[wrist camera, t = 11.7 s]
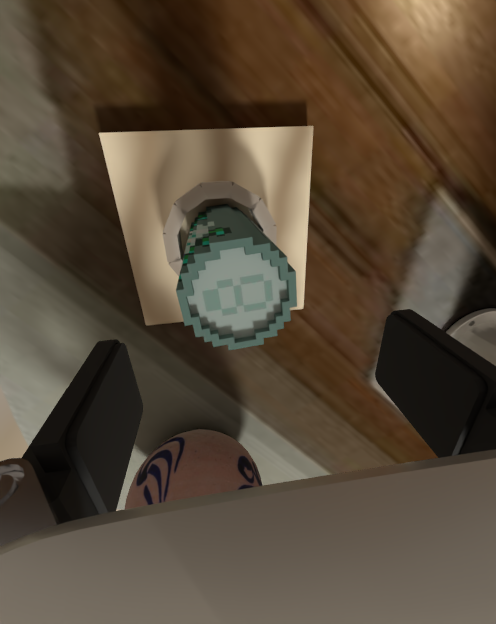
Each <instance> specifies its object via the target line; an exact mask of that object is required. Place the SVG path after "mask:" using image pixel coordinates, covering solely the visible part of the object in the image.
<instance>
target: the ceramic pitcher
mask: <svg viewBox="0 0 496 624" xmlns="http://www.w3.org/2000/svg"><path fill="white" fill-rule="evenodd" d="M258 486H262V482H261V478H260V475H259V472H258V469H257V466H256V464H255V462H254V461H253V459H252V458H251V456H250V454H249V453H248V451H247V450H246V449H245V448H244V447H243V446H242V445H241V444H240V443H239V442H238V441H236V440H235V439H233V438H232V437H230V436H227V435H225V434H223V433H220V432H217V431H212V430H203V429H198V430H192V431H188V432H183V433H180V434H178V435H176V436H174V437H172V438H169V439H168V440H167V441H165V442H163V443H162V444H161V445H160V446H158V447H157V448H156V449H155V450H154V451H153V452H152V453H151V454H150V455H149V456H148V457H147V459H146V460H145V461H144V462H143V464H142V465H141V467H140V468H139V470H138V472H137V473H136V475H135V477H134V480H133V482H132V484H131V486H130V489H129V493H128V496H127V499H126V504H125V509H130V508H136V507H141V506H147V505H152V504H158V503H163V502H168V501H174V500H180V499H186V498H192V497H198V496H204V495H210V494H216V493H222V492H228V491H234V490H240V489H246V488H252V487H258Z"/></svg>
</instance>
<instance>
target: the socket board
mask: <svg viewBox="0 0 496 624" xmlns="http://www.w3.org/2000/svg"><path fill="white" fill-rule="evenodd" d="M99 136H100V140H101V144H102V148H103V152H104V156H105V160H106V164H107V168H108V172H109V177H110V181H111V185H112V189H113V193H114V197H115V201H116V205H117V209H118V213H119V217H120V221H121V226H122V230H123V234H124V238H125V242H126V246H127V250H128V254H129V258H130V262H131V266H132V270H133V275H134V279H135V283H136V287H137V291H138V295H139V299H140V303H141V307H142V311H143V315H144V319H145V324H146V326H147V325H156V324H165V323H175V322H184V320H183V316H182V312H181V309H180V305H179V301H178V297H177V293H176V288H177V283H178V279H179V275H180V270H181V266H182V262H183V257H184V253H185V248H186V244H187V240H188V235H189V232H190V228H191V224H192V222H194V221H195V217H198V212H205V211H207V210H206V207H208V206H215V205H222V204H228V205H229V206H230V208H233V207H237V208H238V209H239V210H240V211H242V212H243V213H244V214H245V215H247V216H248V217H249V218H250V219H251V220H252V221H253V222H254V223H255V224H256V225H257V227H258V228H259V229H260V230H261V231H262V232H263V233H264V234H265V235H266V236H267V237H268V238H269V239H270V240H271V241H272V242H273V243H274V244H275V245H276V246H277V247H278V248H279V249H280V250H281V251H282V252H283V253H284V254H285V255H286V256H287V261H288V263H289V264H290V265H291V266H292V268H293V269H294V270H295V271H296V289H297V307H292V308H290V310H296V309H303V306H304V288H305V269H306V251H307V232H308V214H309V195H310V177H311V158H312V140H313V126H295V127H264V128H234V129H203V130H172V131H141V132H110V133H99Z"/></svg>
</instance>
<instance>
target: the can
mask: <svg viewBox="0 0 496 624" xmlns="http://www.w3.org/2000/svg"><path fill="white" fill-rule="evenodd" d="M206 210H207V211H205V212H198V217H195V221H194V222H192V224H191V228H190V232H189V235H188V240H187V244H186V248H185V253H184V257H183V262H182V266H181V270H180V275H179V279H178V283H177V288H176V293H177V297H178V301H179V305H180V309H181V312H182V316H183V320H184V324H185V326H187V325H193V328H194V332H195V336H196V337H201V336H203V337H204V342H209V341H212V343H213V347H216V346H222V345H228V349H229V350H234V349H239V348H245V347H250V346H256V345H261V344H264V340H263V338H267V337H272V336H277V329H282V328H284V323H283V322H286V321H291V319H290V308H292V307H297V289H296V271H295V270H294V269H293V268H292V266H291V265H290V264H289V263H288V261H287V256H286V255H285V254H284V253H283V252H282V251H281V250H280V249H279V248H278V247H277V246H276V245H275V244H274V243H273V242H272V241H271V240H270V239H269V238H268V237H267V236H266V235H265V234H264V233H263V232H262V231H261V230H260V229H259V228H258V227H257V225H256V224H255V223H254V222H253V221H252V220H251V219H250V218H249V217H248V216H247V215H245V214H244V213H243V212H242V211H240V210H239V209H238V208H237V207H233V208H230V206H229V205H228V204H222V205H215V206H208V207H206Z"/></svg>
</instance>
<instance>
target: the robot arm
mask: <svg viewBox="0 0 496 624" xmlns="http://www.w3.org/2000/svg"><path fill="white" fill-rule="evenodd" d="M375 377H376V380H377V382H378V384H379V385H380V386H381V387H382V389H383V390H384V391H385V392H386V394H387V395H388V396H389V397H390V398H391V400H392V401H393V402H394V403H395V405H396V406H397V407H398V408H399V410H400V411H401V412H402V413H403V414H404V416H405V417H406V418H407V419H408V421H409V422H410V423H411V424H412V426H413V427H414V428H415V429H416V430H417V432H418V433H419V434H420V435H421V437H422V438H423V439H424V440H425V442H426V443H427V444H428V445H429V446H430V448H431V449H432V450H433V451H434V453H435V454H436V455H437V456H438V458H435V459H428V460H422V461H415V462H409V463H402V464H396V465H389V466H383V467H377V468H370V469H364V470H358V471H352V472H345V473H339V474H333V475H326V476H320V477H314V478H308V479H301V480H295V481H289V482H283V483H277V484H271V485H264V486H258V487H252V488H246V489H240V490H234V491H228V492H222V493H216V494H210V495H204V496H198V497H192V498H186V499H180V500H174V501H168V502H163V503H158V504H152V505H147V506H141V507H136V508H130V509H125V510H119V511H116V508H117V505H118V501H119V497H120V494H121V490H122V486H123V483H124V479H125V475H126V472H127V468H128V464H129V460H130V457H131V453H132V449H133V446H134V442H135V438H136V435H137V431H138V427H139V424H140V420H141V416H142V412H143V404H142V400H141V396H140V393H139V389H138V386H137V382H136V379H135V376H134V372H133V369H132V365H131V362H130V358H129V355H128V352H127V348H126V345H125V344H124V343H120V342H119V341H118V340H107V341H99V342H98V343H97V344H96V345H95V347H94V348H93V350H92V351H91V353H90V354H89V356H88V358H87V359H86V361H85V362H84V364H83V365H82V367H81V368H80V370H79V371H78V373H77V374H76V376H75V377H74V379H73V381H72V382H71V384H70V385H69V387H68V388H67V389H66V391H65V392H64V394H63V395H62V397H61V398H60V400H59V401H58V403H57V404H56V406H55V408H54V409H53V411H52V412H51V414H50V415H49V417H48V418H47V420H46V421H45V423H44V424H43V426H42V427H41V429H40V431H39V432H38V434H37V435H36V437H35V438H34V440H33V441H32V443H31V444H30V446H29V447H28V449H27V451H26V452H25V453H24V455H23V457H22V458H11V459H7V460H4V461H0V624H496V309H495V308H489V309H483V310H479V311H476V312H473V313H471V314H469V315H467V316H465V317H463V318H462V319H460V320H459V321H457V322H456V323H455V324H454V325H452V326H451V327H450V328H449V329H448V330H447V331H446V332H444V331H443V330H441V329H440V328H438V327H437V326H435V325H434V324H432V323H431V322H429V321H428V320H426V319H425V318H423V317H422V316H420V315H419V314H417V313H416V312H414V311H413V310H410V309H407V310H397V311H393V312H392V313H391V315H389V316H388V317H387V319H386V324H385V329H384V333H383V338H382V343H381V348H380V353H379V358H378V363H377V367H376V372H375Z"/></svg>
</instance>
